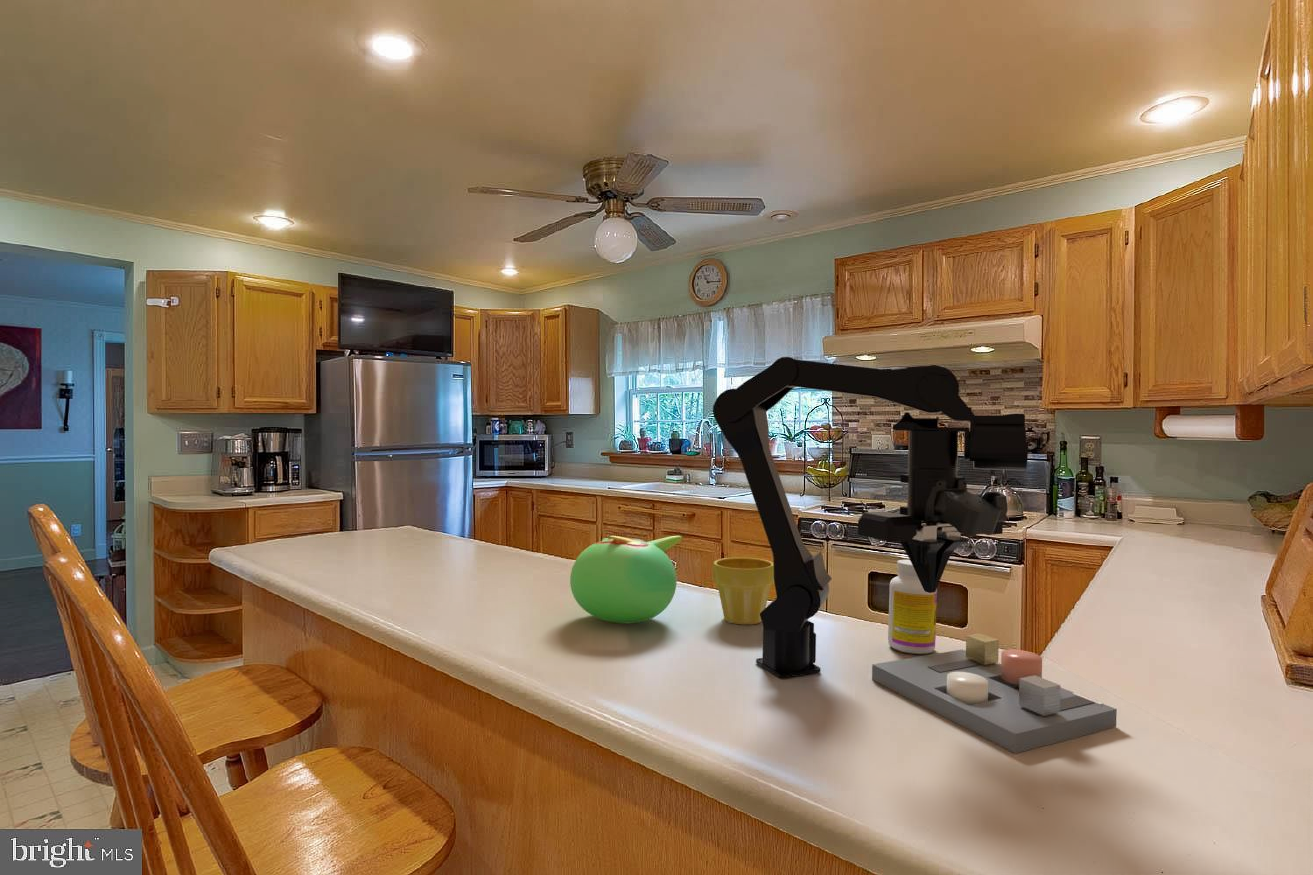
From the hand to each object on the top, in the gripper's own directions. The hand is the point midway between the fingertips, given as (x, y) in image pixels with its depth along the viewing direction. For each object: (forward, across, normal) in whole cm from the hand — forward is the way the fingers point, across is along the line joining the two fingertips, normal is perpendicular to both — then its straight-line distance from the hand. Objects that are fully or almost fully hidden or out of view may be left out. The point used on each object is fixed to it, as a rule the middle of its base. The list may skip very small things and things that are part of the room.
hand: (929, 592), depth 83 cm
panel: (+12, +4, -5) cm, 14 cm away
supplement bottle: (+13, +10, +13) cm, 21 cm away
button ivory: (+12, 0, -6) cm, 13 cm away
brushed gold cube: (+10, +11, +1) cm, 15 cm away
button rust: (+10, +9, -6) cm, 15 cm away
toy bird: (+13, -25, +42) cm, 51 cm away
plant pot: (+13, -6, +35) cm, 38 cm away
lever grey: (+10, +4, -12) cm, 16 cm away
